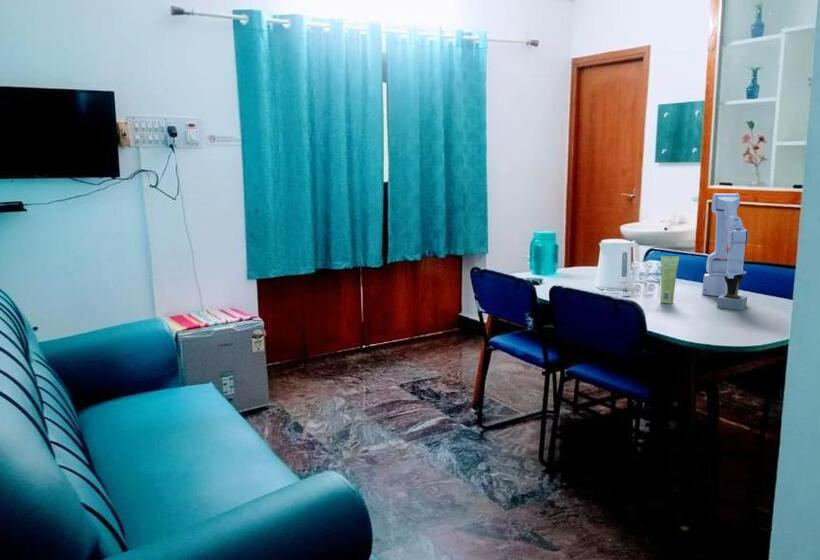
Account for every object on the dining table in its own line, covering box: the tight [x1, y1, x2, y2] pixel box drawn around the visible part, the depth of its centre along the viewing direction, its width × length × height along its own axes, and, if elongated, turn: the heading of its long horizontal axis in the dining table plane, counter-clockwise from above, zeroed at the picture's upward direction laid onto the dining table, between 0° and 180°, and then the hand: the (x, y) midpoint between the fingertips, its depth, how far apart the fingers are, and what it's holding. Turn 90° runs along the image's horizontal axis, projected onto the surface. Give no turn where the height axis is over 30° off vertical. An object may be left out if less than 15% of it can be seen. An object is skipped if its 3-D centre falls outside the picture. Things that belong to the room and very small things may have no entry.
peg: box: [726, 282, 740, 299], centre depth 253 cm, size 4×4×8 cm
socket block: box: [716, 294, 748, 311], centre depth 254 cm, size 9×9×4 cm
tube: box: [659, 255, 680, 304], centre depth 261 cm, size 6×5×20 cm
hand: (732, 293), depth 253 cm, fingers closed on peg, 4 cm apart
